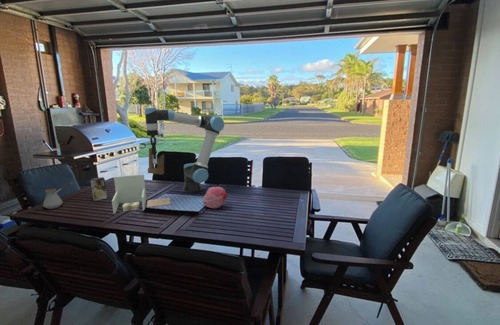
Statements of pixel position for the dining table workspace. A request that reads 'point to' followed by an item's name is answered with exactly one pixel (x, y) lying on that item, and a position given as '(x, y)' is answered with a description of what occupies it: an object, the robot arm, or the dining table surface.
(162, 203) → the tile
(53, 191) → the coffee pot
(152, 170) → the wooden block
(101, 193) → the coffee box
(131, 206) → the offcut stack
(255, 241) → the dining table surface
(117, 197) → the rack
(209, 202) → the decorative rock
